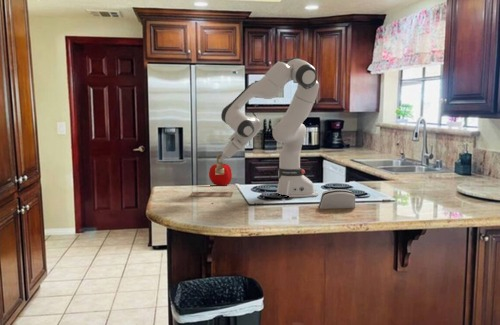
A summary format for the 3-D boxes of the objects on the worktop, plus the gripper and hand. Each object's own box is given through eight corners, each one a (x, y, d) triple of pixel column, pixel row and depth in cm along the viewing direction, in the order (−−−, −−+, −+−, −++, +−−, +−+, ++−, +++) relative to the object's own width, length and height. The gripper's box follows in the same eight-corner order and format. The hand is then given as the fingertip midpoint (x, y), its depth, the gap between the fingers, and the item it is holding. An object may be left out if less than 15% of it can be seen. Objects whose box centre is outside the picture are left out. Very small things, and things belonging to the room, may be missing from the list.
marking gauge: (223, 172, 227) (223, 154, 226) (224, 174, 222) (224, 155, 220) (215, 172, 227) (215, 154, 226) (215, 174, 221) (215, 155, 220)
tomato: (231, 187, 249) (231, 164, 247) (207, 187, 249) (207, 164, 247) (232, 182, 264) (232, 160, 263) (210, 182, 265) (210, 160, 263)
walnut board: (233, 194, 230) (233, 191, 230) (231, 199, 217) (231, 196, 217) (192, 194, 231) (192, 191, 230) (188, 199, 218) (188, 196, 217)
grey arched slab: (352, 205, 204) (355, 187, 199) (355, 210, 200) (358, 192, 195) (318, 206, 203) (320, 188, 198) (320, 211, 199) (322, 193, 194)
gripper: (231, 136, 233) (214, 154, 233) (233, 139, 212) (214, 159, 213) (240, 144, 234) (222, 162, 234) (242, 148, 213) (223, 167, 214)
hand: (218, 160), depth 223 cm, fingers closed on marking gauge, 3 cm apart
